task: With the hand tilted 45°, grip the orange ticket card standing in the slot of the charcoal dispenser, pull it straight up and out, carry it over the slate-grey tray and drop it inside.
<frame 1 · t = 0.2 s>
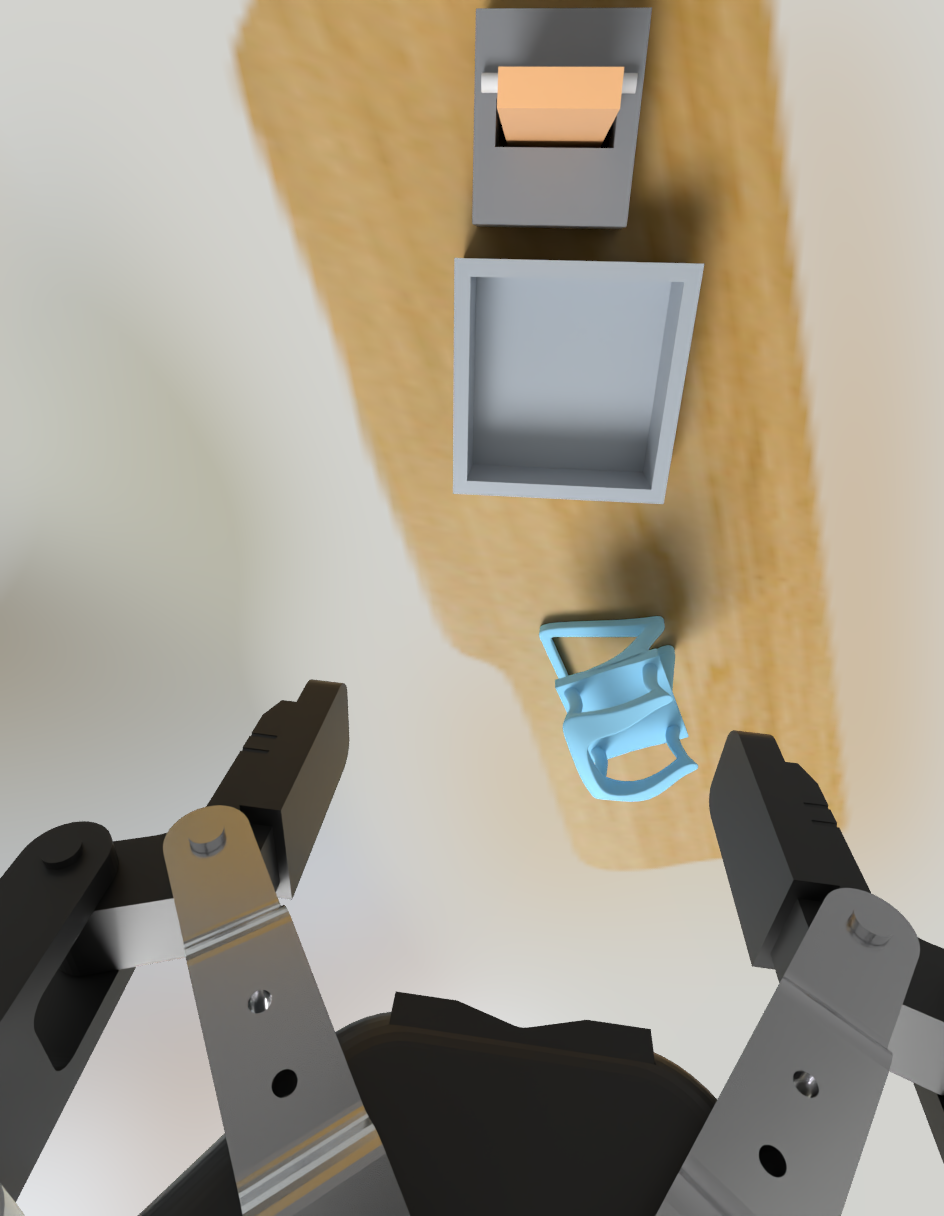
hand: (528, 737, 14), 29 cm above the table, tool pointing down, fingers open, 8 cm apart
tray: (564, 377, 37), on the table
ticket dispenser: (554, 134, 32), on the table
ticket card: (554, 134, 32), resting in ticket dispenser
chair: (611, 650, 46), on the table
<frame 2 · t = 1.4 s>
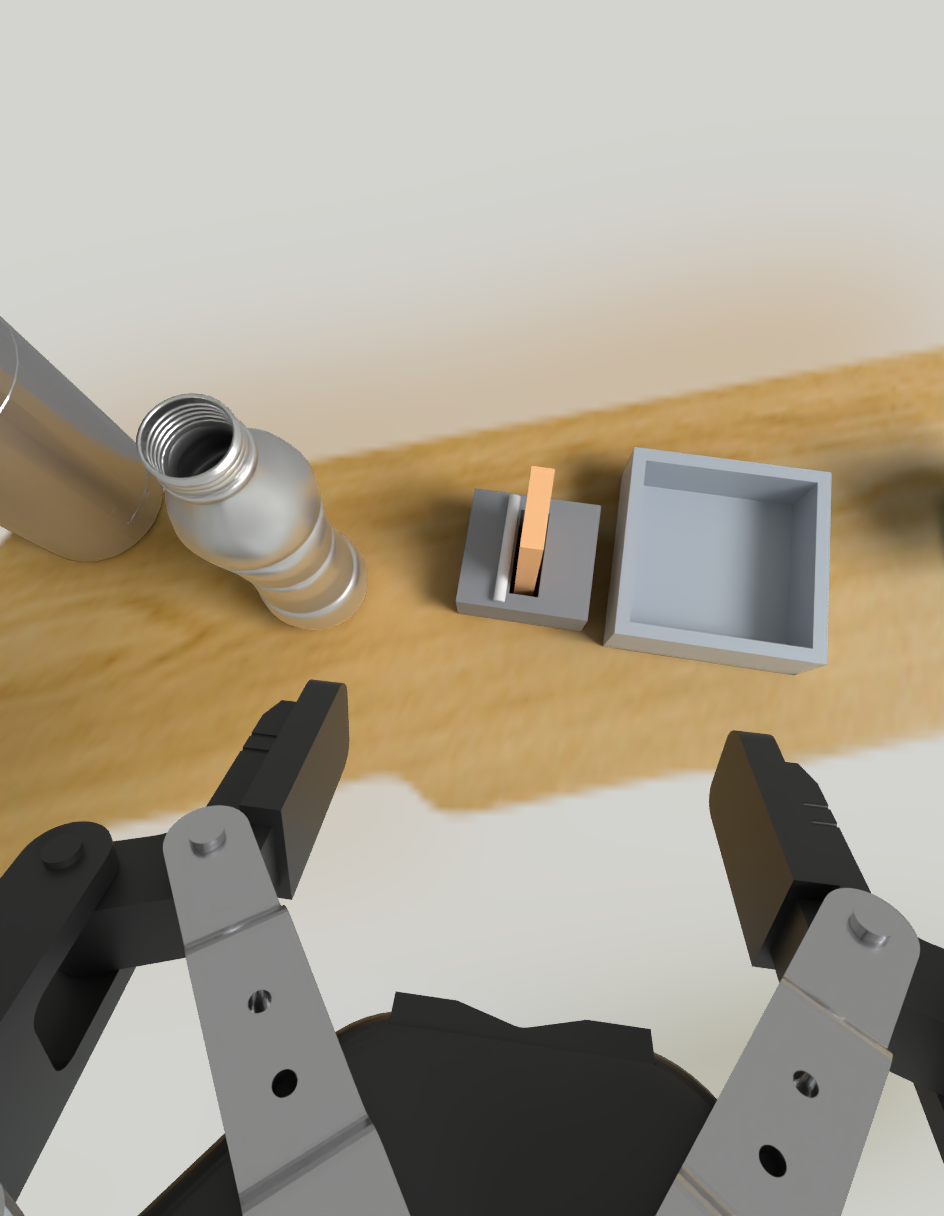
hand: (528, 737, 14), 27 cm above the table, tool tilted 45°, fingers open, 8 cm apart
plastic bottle: (325, 590, 43), on the table
tray: (704, 571, 42), on the table
ticket dispenser: (526, 567, 42), on the table
ticket card: (526, 567, 42), resting in ticket dispenser
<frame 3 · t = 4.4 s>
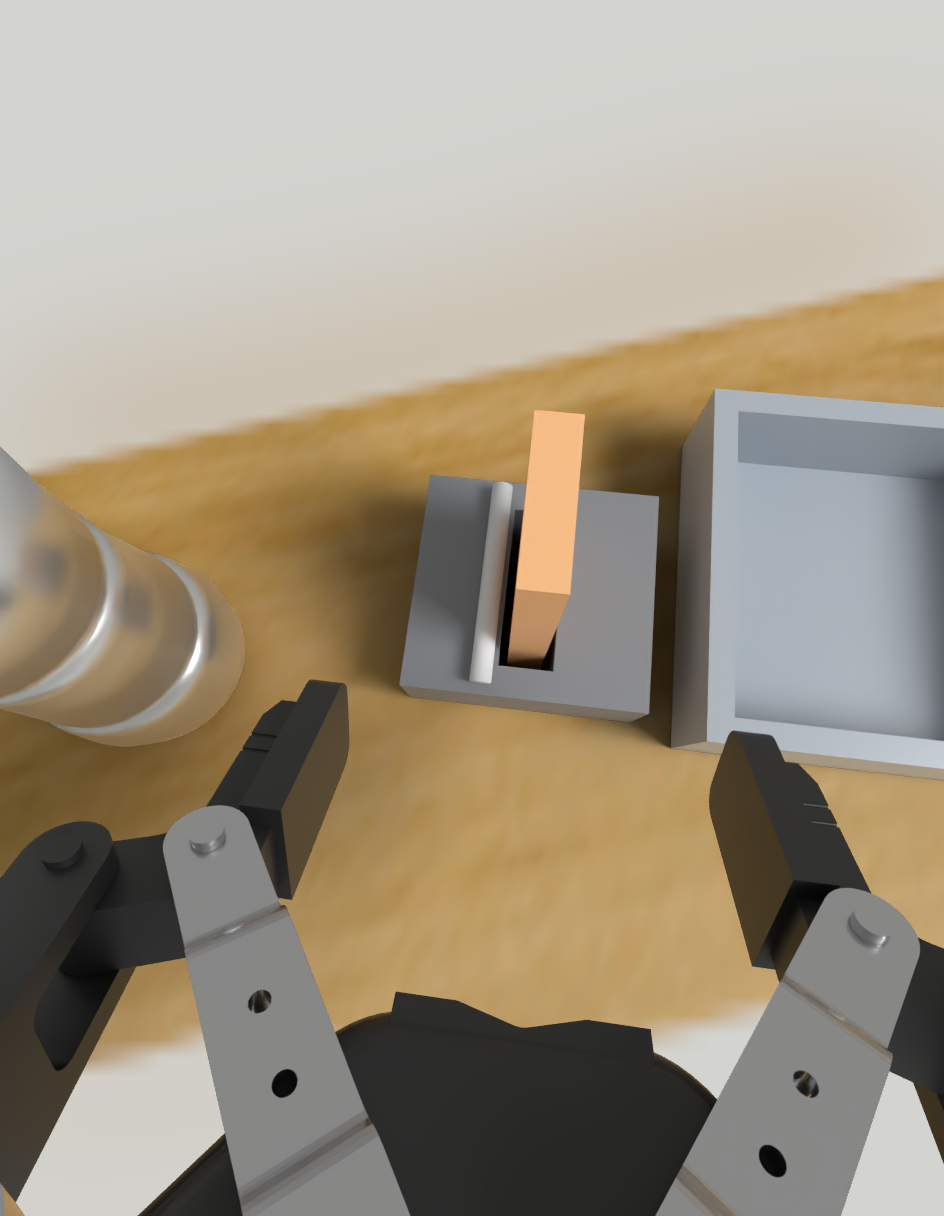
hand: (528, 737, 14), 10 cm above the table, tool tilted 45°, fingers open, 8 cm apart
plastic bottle: (179, 664, 24), on the table
tray: (838, 604, 24), on the table
ticket dispenser: (528, 610, 24), on the table
ticket card: (528, 611, 24), resting in ticket dispenser
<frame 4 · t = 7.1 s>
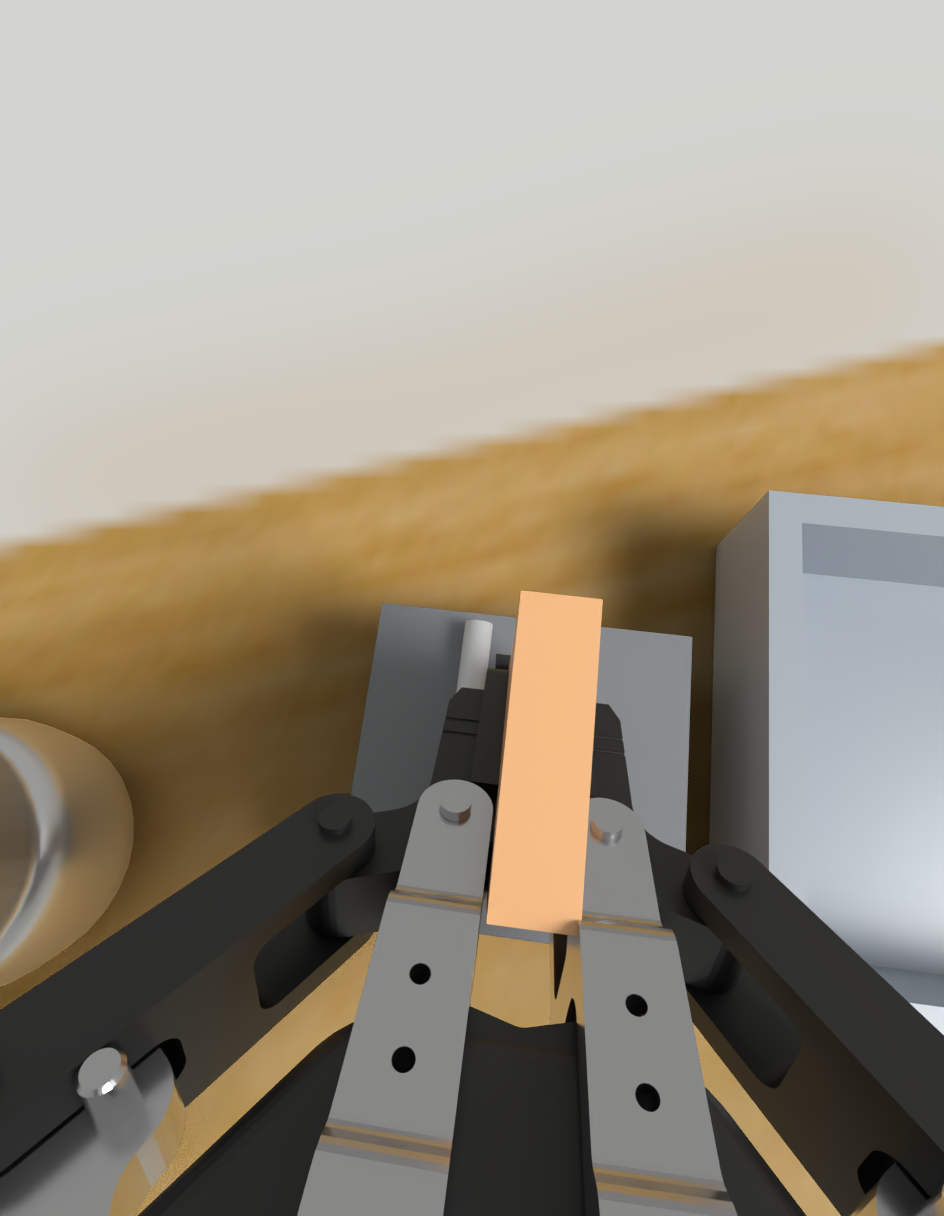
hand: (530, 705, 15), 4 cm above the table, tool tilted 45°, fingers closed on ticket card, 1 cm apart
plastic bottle: (55, 839, 19), on the table
tray: (927, 766, 18), on the table
ticket dispenser: (516, 771, 18), on the table
ticket card: (517, 775, 18), resting in ticket dispenser, touching gripper
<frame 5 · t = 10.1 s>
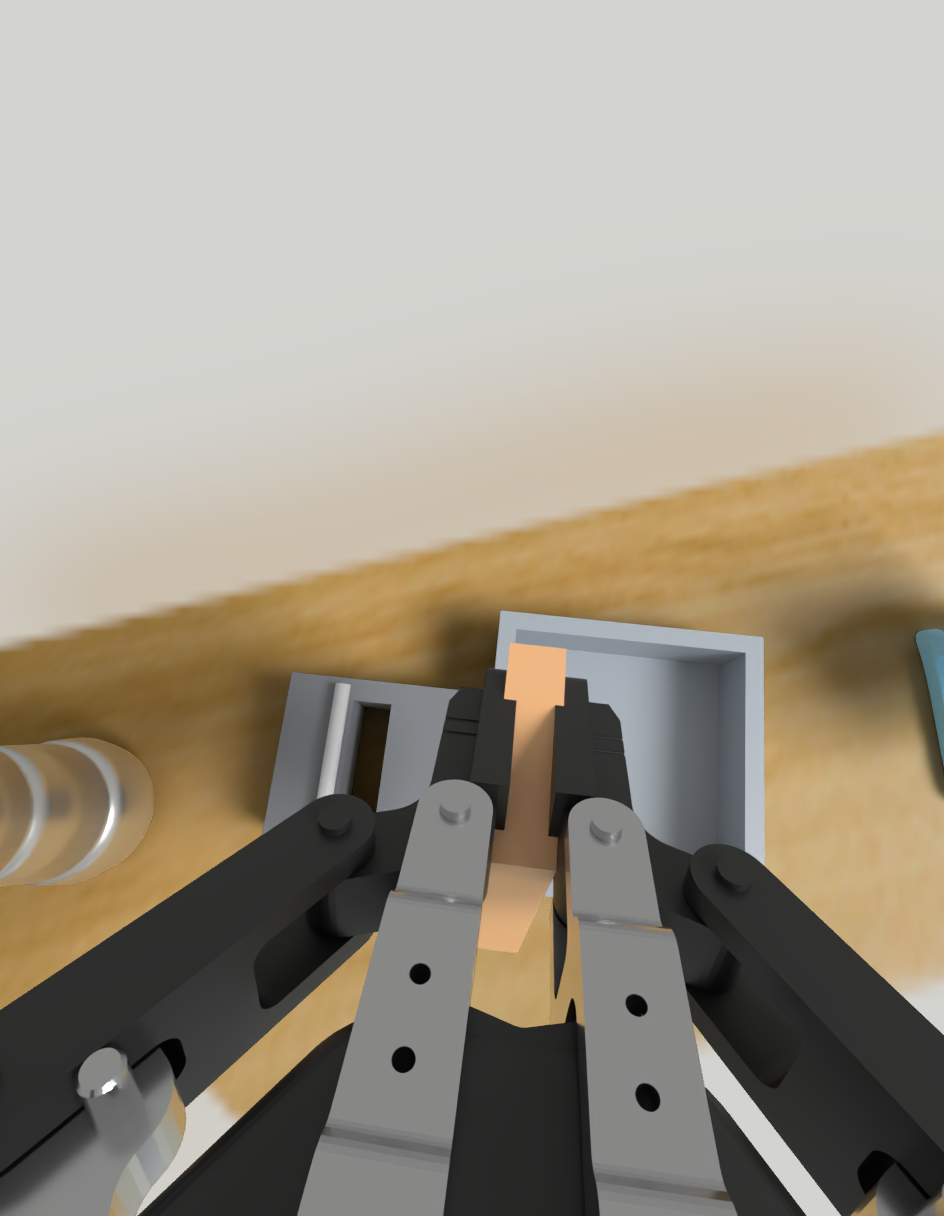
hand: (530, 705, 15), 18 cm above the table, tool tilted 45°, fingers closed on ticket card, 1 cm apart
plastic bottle: (107, 806, 32), on the table
tray: (607, 759, 32), on the table
ticket dispenser: (374, 764, 32), on the table
ticket card: (504, 871, 20), point 11 cm above the table, tilted 21°, touching gripper
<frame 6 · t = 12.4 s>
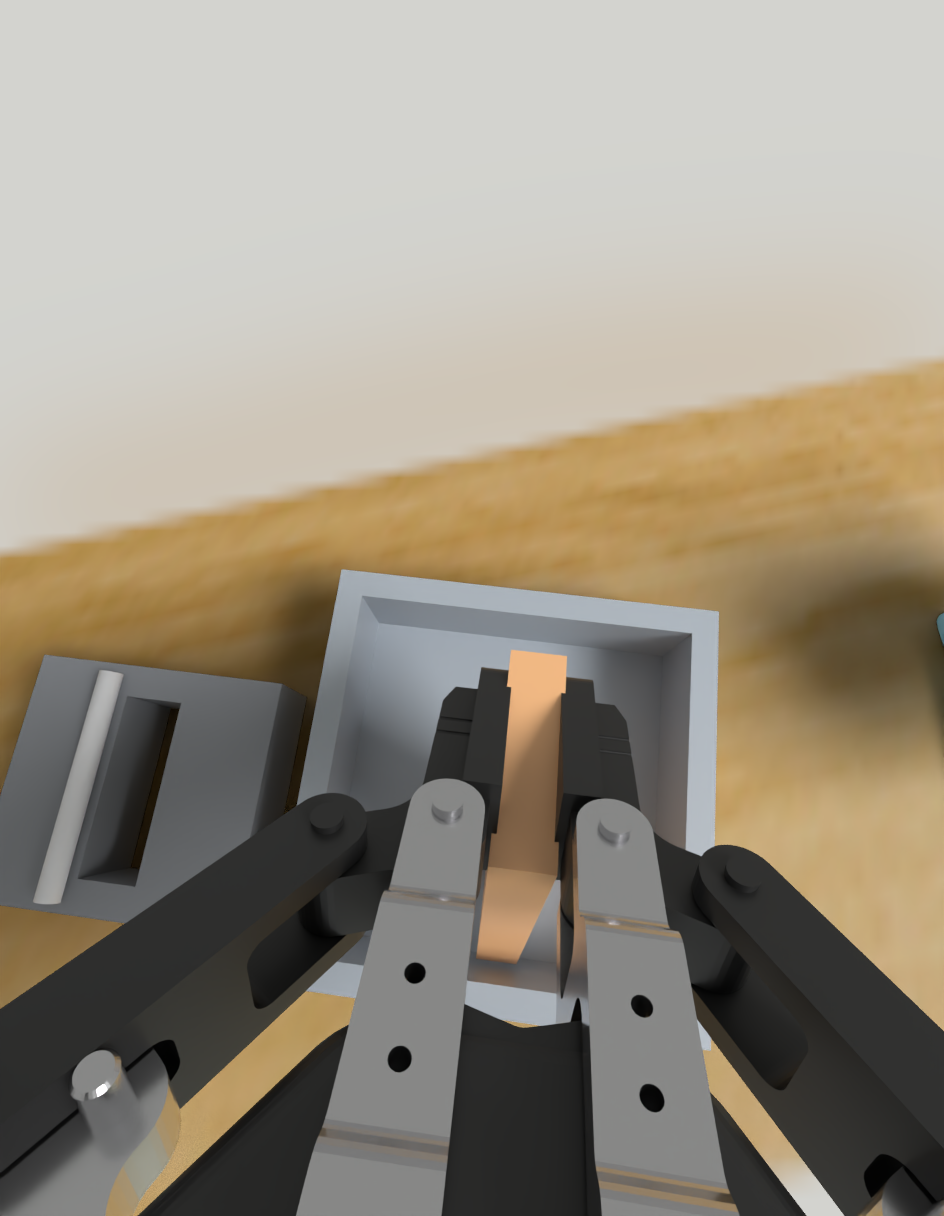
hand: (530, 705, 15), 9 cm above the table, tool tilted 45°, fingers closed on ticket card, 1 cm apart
tray: (503, 786, 23), on the table
ticket dispenser: (175, 788, 23), on the table
ticket card: (503, 882, 20), point 1 cm above the table, tilted 21°, touching gripper, tray
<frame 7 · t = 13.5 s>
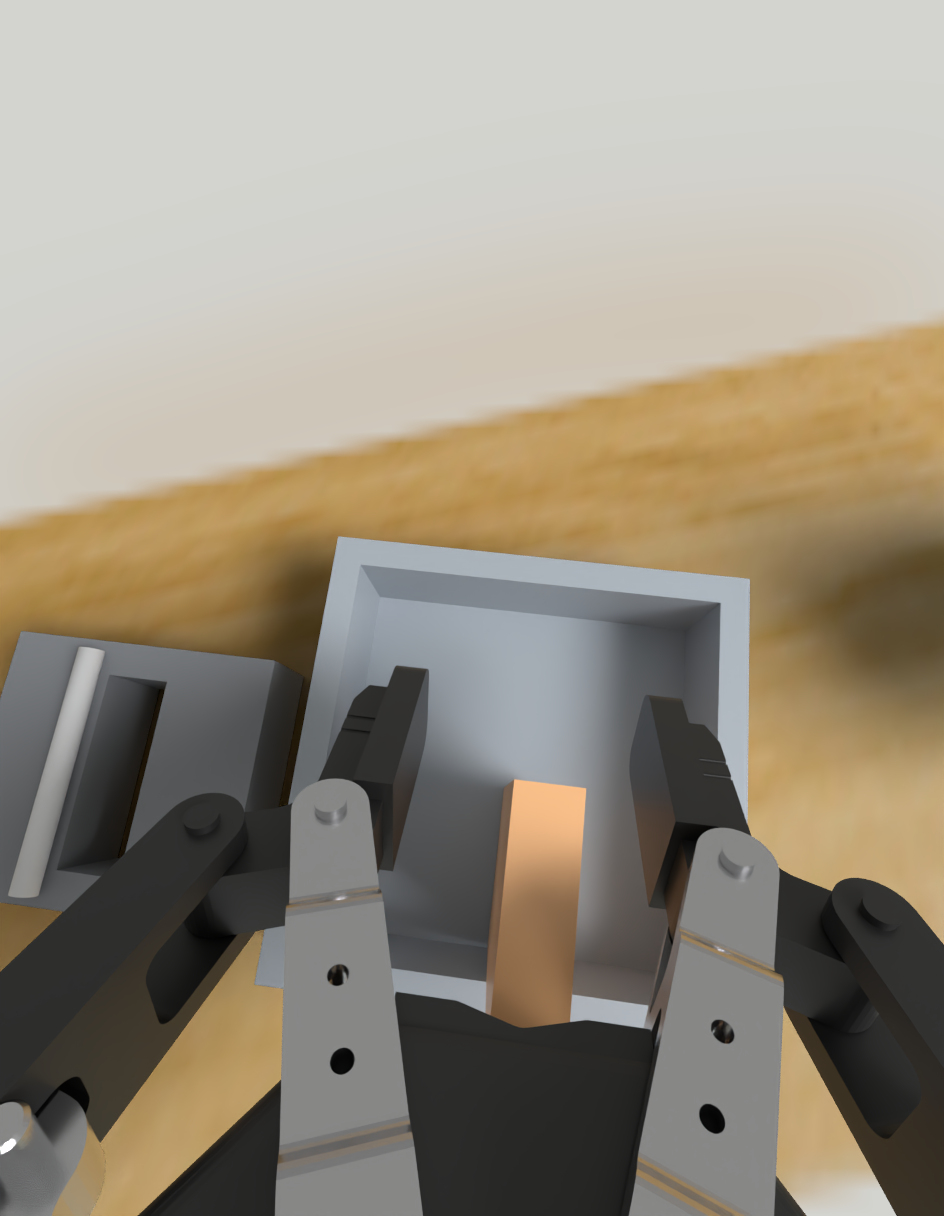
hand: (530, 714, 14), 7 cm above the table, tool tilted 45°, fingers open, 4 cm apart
tray: (514, 770, 21), on the table
ticket dispenser: (165, 774, 21), on the table
ticket card: (515, 866, 20), point 1 cm above the table, touching tray
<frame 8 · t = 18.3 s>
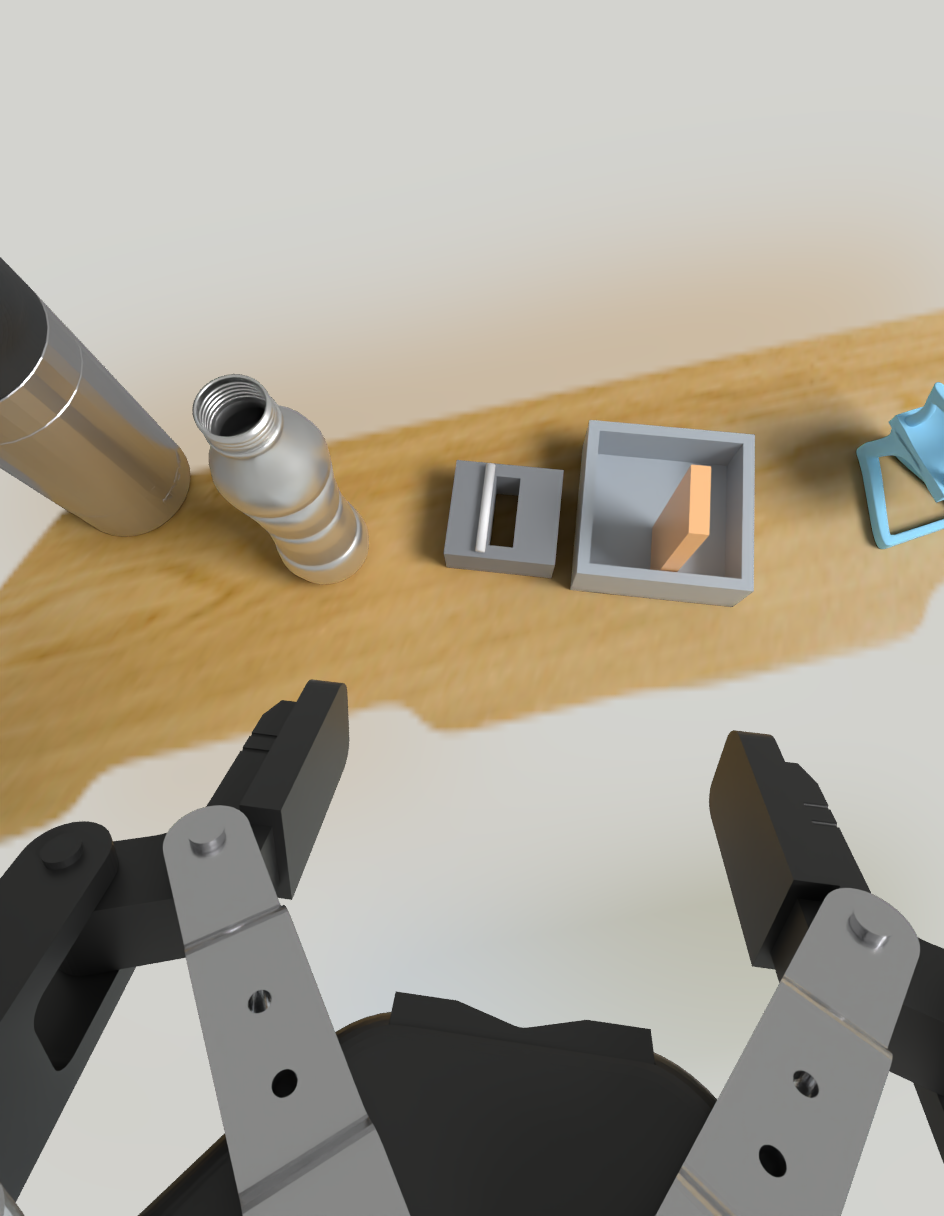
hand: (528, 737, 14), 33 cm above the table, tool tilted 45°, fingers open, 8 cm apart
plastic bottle: (332, 553, 50), on the table
tray: (654, 523, 50), on the table
ticket dispenser: (504, 527, 50), on the table
ticket card: (658, 556, 48), point 1 cm above the table, touching tray
chair: (897, 489, 50), on the table
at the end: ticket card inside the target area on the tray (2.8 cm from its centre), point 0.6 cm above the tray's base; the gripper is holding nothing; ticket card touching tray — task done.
